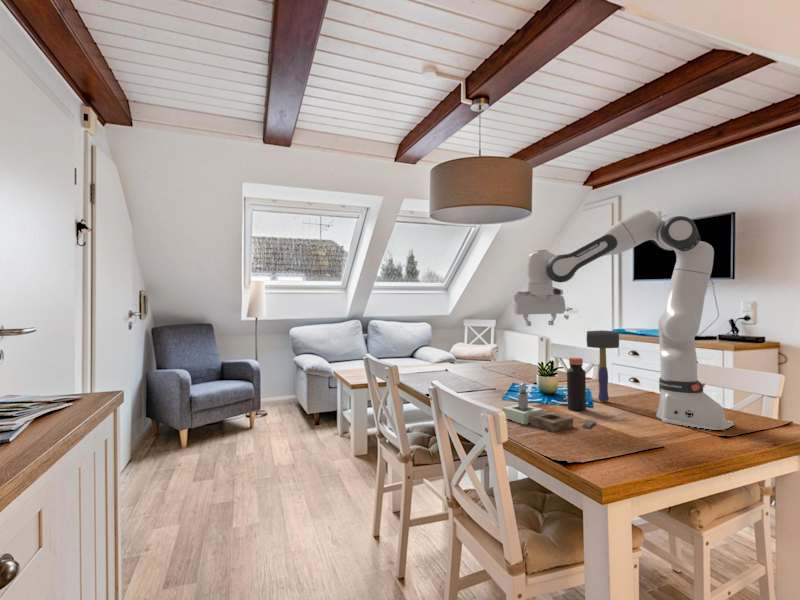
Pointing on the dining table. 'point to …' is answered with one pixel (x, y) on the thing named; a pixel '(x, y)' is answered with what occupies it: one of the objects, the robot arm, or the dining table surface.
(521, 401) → the drill bit
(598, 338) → the rubber mallet
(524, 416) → the rack block
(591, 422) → the drift key
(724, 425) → the robot arm
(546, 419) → the socket block
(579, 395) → the bottle
